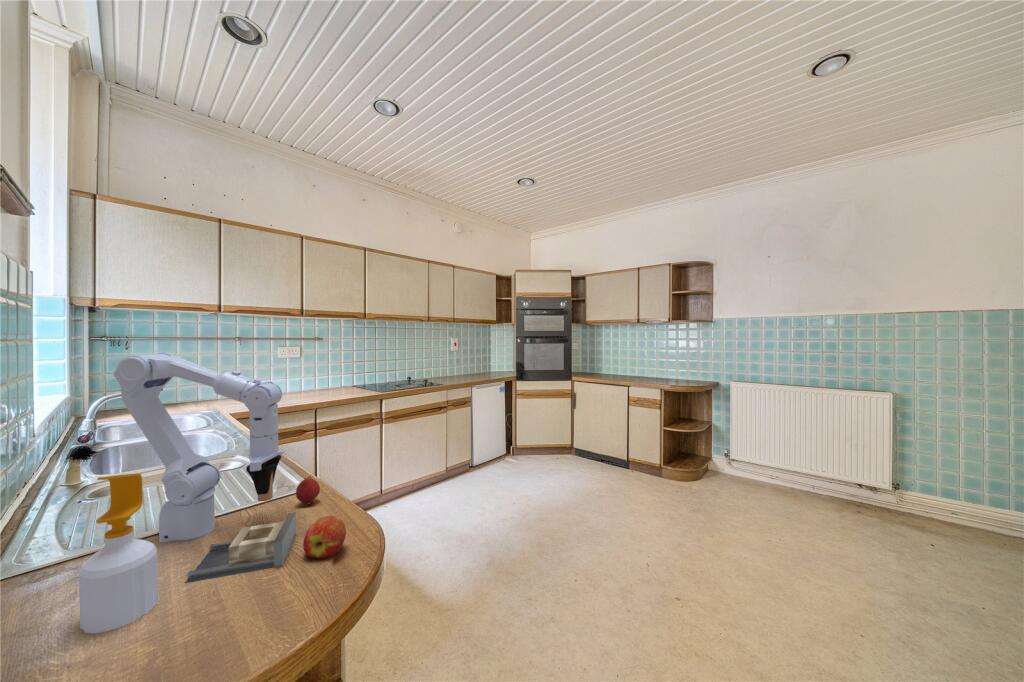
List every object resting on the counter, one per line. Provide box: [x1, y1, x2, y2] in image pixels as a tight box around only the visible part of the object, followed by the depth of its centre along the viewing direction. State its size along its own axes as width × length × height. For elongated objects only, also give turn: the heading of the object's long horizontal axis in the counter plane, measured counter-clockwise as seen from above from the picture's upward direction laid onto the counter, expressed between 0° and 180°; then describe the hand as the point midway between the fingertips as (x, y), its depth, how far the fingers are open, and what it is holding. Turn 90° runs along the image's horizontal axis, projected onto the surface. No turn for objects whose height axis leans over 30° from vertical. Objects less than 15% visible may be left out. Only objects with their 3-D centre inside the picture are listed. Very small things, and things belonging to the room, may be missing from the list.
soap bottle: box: [78, 472, 159, 635], centre depth 64 cm, size 9×9×25 cm
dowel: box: [257, 472, 274, 502], centre depth 91 cm, size 3×3×7 cm
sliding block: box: [229, 521, 284, 565], centre depth 81 cm, size 8×8×4 cm
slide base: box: [184, 512, 297, 584], centre depth 80 cm, size 16×13×6 cm
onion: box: [295, 474, 321, 505], centre depth 106 cm, size 6×6×8 cm
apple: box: [302, 515, 347, 560], centre depth 82 cm, size 8×8×8 cm
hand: (264, 490), depth 91 cm, fingers closed on dowel, 3 cm apart
